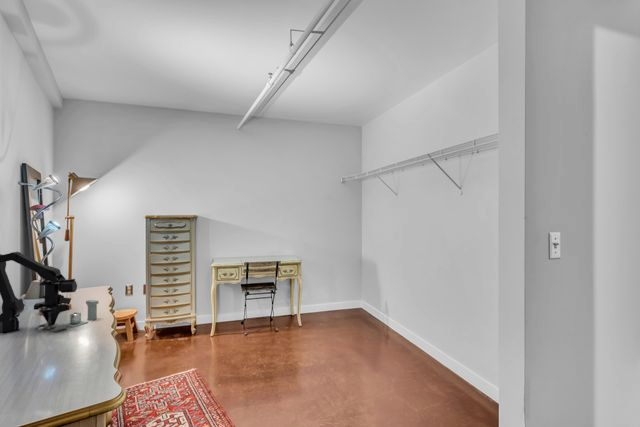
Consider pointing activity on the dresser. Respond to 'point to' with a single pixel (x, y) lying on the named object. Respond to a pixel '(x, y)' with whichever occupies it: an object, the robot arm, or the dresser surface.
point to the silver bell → (75, 318)
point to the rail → (54, 328)
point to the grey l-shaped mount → (91, 313)
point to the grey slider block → (49, 325)
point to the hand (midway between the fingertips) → (51, 323)
